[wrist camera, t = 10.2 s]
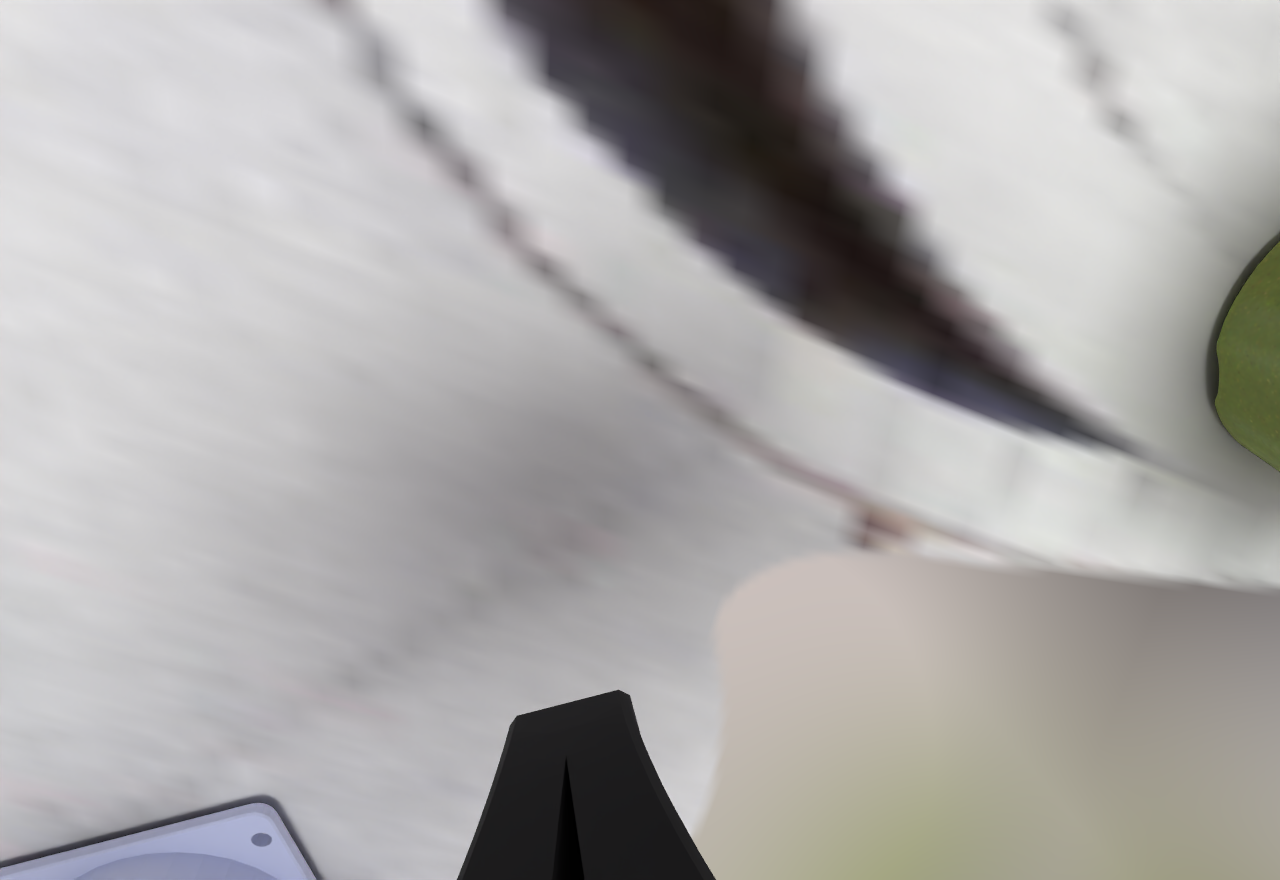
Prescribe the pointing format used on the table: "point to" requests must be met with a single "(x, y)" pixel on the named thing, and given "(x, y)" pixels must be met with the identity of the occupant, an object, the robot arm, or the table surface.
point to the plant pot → (1253, 363)
